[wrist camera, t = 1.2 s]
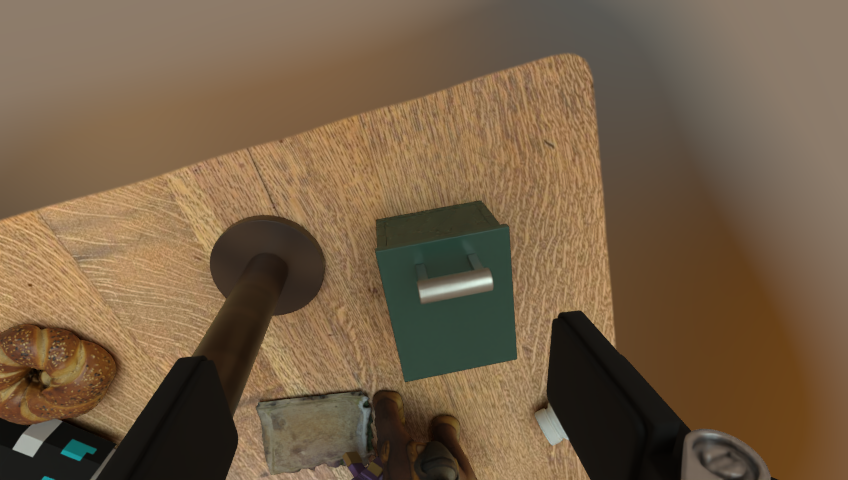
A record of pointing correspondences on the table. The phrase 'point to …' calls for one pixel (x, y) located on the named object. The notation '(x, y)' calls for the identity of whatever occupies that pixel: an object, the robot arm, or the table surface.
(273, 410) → the parchment
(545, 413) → the pill bottle
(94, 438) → the toy
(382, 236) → the green box
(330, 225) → the table surface
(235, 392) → the post
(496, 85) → the table surface
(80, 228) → the table surface
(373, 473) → the toy figure
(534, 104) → the table surface
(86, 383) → the pretzel
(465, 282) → the box lid
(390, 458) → the figurine
